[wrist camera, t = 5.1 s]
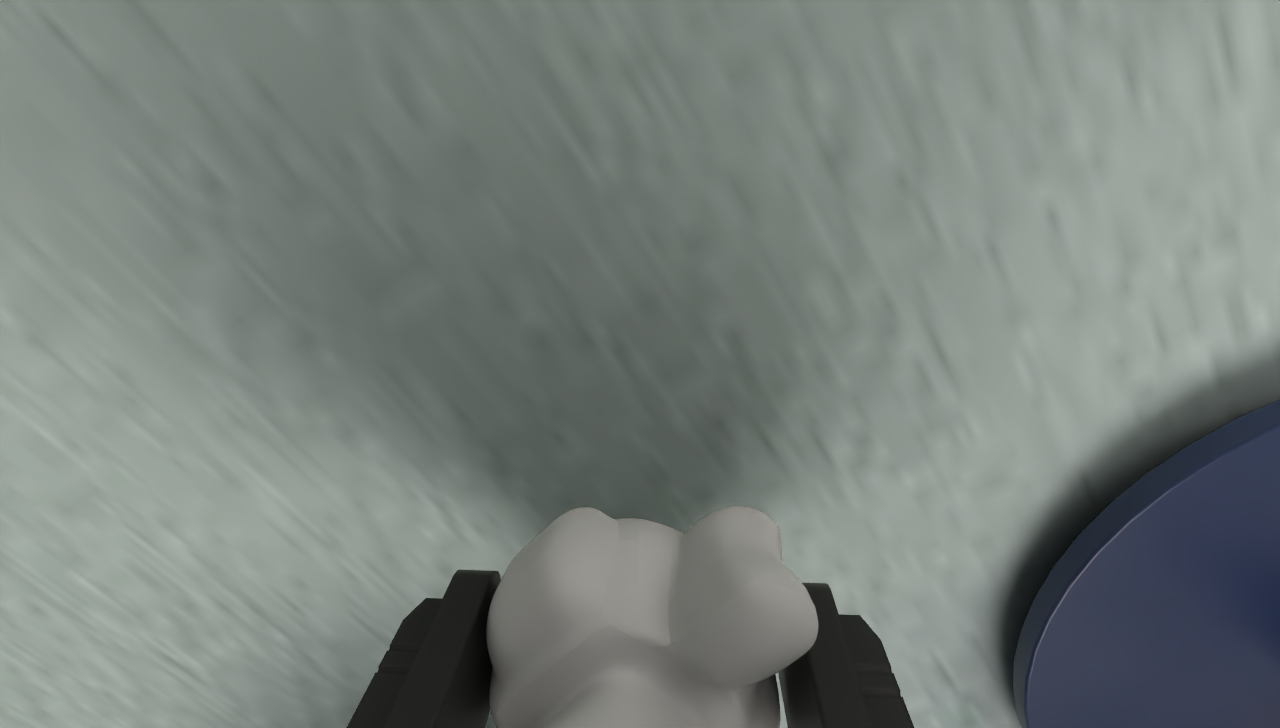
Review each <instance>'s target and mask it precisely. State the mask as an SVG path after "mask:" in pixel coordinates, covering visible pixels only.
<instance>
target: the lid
mask: <svg viewBox="0 0 1280 728" xmlns="http://www.w3.org/2000/svg"><path fill="white" fill-rule="evenodd" d="M1013 691H1014V698H1015V705H1016V712H1017V716H1018V719H1019V721H1020V724H1021V727H1022V728H1280V400H1277V401H1275V402H1273V403H1271V404H1268V405H1266V406H1264V407H1261V408H1259V409H1257V410H1255V411H1252V412H1250V413H1248V414H1246V415H1243V416H1241V417H1239V418H1237V419H1235V420H1233V421H1231V422H1229V423H1228V424H1226V425H1224V426H1222V427H1220V428H1218V429H1217V430H1215V431H1213V432H1211V433H1209V434H1208V435H1206V436H1204V437H1202V438H1200V439H1198V440H1197V441H1195V442H1193V443H1191V444H1189V445H1188V446H1186V447H1185V448H1183V449H1182V450H1180V451H1179V452H1177V453H1176V454H1174V455H1173V456H1172V457H1170V458H1169V459H1167V460H1166V461H1164V462H1163V463H1161V464H1160V465H1158V466H1157V467H1155V468H1154V469H1152V470H1151V471H1149V472H1148V473H1146V474H1145V475H1144V476H1143V477H1141V478H1140V479H1139V480H1138V481H1137V482H1135V483H1134V484H1133V485H1132V486H1130V487H1129V488H1128V489H1127V490H1126V491H1124V492H1123V493H1122V494H1121V495H1119V496H1118V497H1117V498H1116V499H1115V500H1113V501H1112V502H1111V503H1110V504H1109V505H1108V506H1107V507H1106V508H1105V509H1104V510H1103V511H1102V512H1101V513H1100V514H1099V515H1098V516H1097V517H1096V518H1095V519H1094V520H1093V521H1092V522H1091V523H1090V524H1089V525H1088V526H1087V527H1086V528H1085V529H1084V530H1083V531H1082V532H1081V533H1080V534H1079V535H1078V536H1077V537H1076V539H1075V540H1074V541H1073V542H1072V544H1071V545H1070V546H1069V548H1068V549H1067V550H1066V551H1065V553H1064V554H1063V555H1062V556H1061V558H1060V559H1059V560H1058V561H1057V563H1056V564H1055V565H1054V567H1053V568H1052V570H1051V571H1050V573H1049V575H1048V576H1047V578H1046V580H1045V581H1044V583H1043V585H1042V586H1041V588H1040V590H1039V591H1038V593H1037V595H1036V596H1035V598H1034V600H1033V603H1032V605H1031V607H1030V610H1029V612H1028V614H1027V617H1026V619H1025V622H1024V624H1023V626H1022V629H1021V633H1020V637H1019V641H1018V645H1017V649H1016V654H1015V658H1014V675H1013Z"/></svg>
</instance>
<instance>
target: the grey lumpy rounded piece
mask: <svg viewBox="0 0 1280 728" xmlns="http://www.w3.org/2000/svg"><path fill="white" fill-rule="evenodd" d="M817 634H818V617H817V613H816V608H815V606H814V604H813V602H812V600H811V598H810V595H809V593H808V591H807V589H806V588H805V586H804V585H803V584H802V583H801V581H800V580H799V579H798V578H797V577H796V576H795V574H794V573H793V572H792V571H791V570H790V569H789V568H788V567H787V566H785V565H784V564H783V561H782V551H781V535H780V529H779V526H778V525H777V523H776V522H775V521H774V520H773V519H771V518H770V517H769V516H767V515H766V514H764V513H762V512H760V511H758V510H756V509H753V508H751V507H743V506H731V507H725V508H721V509H718V510H716V511H714V512H711V513H709V514H708V515H706V516H705V517H703V518H701V519H700V520H698V521H697V522H696V523H694V524H693V525H692V526H691V527H690V528H689V529H688V530H687V531H686V533H685V534H683V533H681V532H679V531H677V530H675V529H673V528H671V527H668V526H665V525H663V524H659V523H656V522H652V521H648V520H644V519H637V518H624V519H613V518H611V517H609V516H607V515H606V514H604V513H603V512H601V511H599V510H597V509H594V508H591V507H579V508H575V509H572V510H570V511H568V512H566V513H564V514H562V515H561V516H559V517H558V518H557V519H555V520H554V521H553V522H552V523H551V524H549V525H548V526H547V527H546V528H545V529H544V530H543V531H542V532H541V533H540V534H539V535H537V536H536V537H535V538H534V539H533V540H532V541H531V542H530V543H529V544H528V545H526V546H525V547H524V548H523V549H522V550H521V551H520V552H519V553H518V554H517V556H516V557H515V558H514V559H513V560H512V562H511V563H510V565H509V567H508V568H507V570H506V572H505V574H504V576H503V577H502V579H501V581H500V583H499V586H498V587H497V589H496V591H495V594H494V596H493V599H492V602H491V605H490V609H489V613H488V619H487V628H486V640H487V647H488V652H489V656H490V660H491V663H492V666H493V669H492V675H491V684H490V698H489V701H490V709H491V714H492V717H493V719H494V722H495V724H496V726H497V728H779V727H780V704H779V694H778V687H777V682H776V676H775V674H776V673H778V672H779V671H781V670H782V669H784V668H785V667H787V666H788V665H790V664H791V663H793V662H794V661H796V660H797V659H798V658H800V657H801V656H802V655H804V654H805V653H806V652H807V651H808V650H809V649H810V648H811V647H812V646H813V644H814V642H815V640H816V638H817Z"/></svg>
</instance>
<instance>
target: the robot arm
mask: <svg viewBox="0 0 1280 728" xmlns="http://www.w3.org/2000/svg"><path fill="white" fill-rule="evenodd" d="M500 581H501V578H500V574H499V572H498V571H480V570H458V571H457V572H456V573H455V574H454V576H453V578H452V580H451V582H450V584H449V586H448V588H447V591H446V593H445V595H444V597H443V599H437V598H426V599H424V600H423V601H422V602H421V603H420V604H419V605H418V606H417V607H416V608H415V609H414V610H413V611H412V612H411V613H410V614H409V615H408V616H407V617H406V618H405V619H404V620H403V621H402V623H401V625H400V627H399V629H398V631H397V633H396V635H395V637H394V639H393V640H392V642H391V644H390V649H389V651H387V652H386V654H385V656H384V658H383V660H382V661H381V663H380V665H379V670H378V672H377V673H375V675H374V677H373V679H372V681H371V682H370V684H369V686H368V688H367V690H366V692H365V694H364V696H363V698H362V700H361V701H360V703H359V705H358V707H357V709H356V711H355V713H354V715H353V717H352V719H351V721H350V722H349V724H348V726H347V728H485V725H486V722H487V718H488V715H489V712H490V701H489V698H490V684H491V675H492V669H493V666H492V663H491V660H490V656H489V652H488V647H487V640H486V628H487V619H488V613H489V609H490V605H491V602H492V599H493V596H494V594H495V591H496V589H497V587H498V586H499V583H500ZM802 584H803V585H804V586H805V588H806V589H807V591H808V593H809V595H810V598H811V600H812V602H813V604H814V606H815V608H816V613H817V617H818V634H817V638H816V640H815V642H814V644H813V646H812V647H811V648H810V649H809V650H808V651H807V652H806V653H805V654H804V655H802V656H801V657H800V658H798V659H797V660H796V661H794V662H793V663H791V664H790V665H788V666H787V667H785V668H784V669H782V670H781V671H779V680H780V686H781V691H782V697H783V702H784V708H785V713H786V719H787V725H788V728H914V726H913V723H912V721H911V718H910V716H909V713H908V710H907V708H906V705H905V702H904V700H903V697H901V696H900V689H899V687H898V684H897V681H896V679H895V676H894V674H893V673H892V672H891V666H890V663H889V660H888V658H887V655H886V652H885V650H884V647H883V645H882V642H881V640H880V638H879V637H878V636H877V635H876V634H875V633H874V631H873V630H872V629H871V628H870V627H869V626H868V625H867V623H866V622H865V621H864V620H863V619H862V618H861V616H860V615H839V614H838V611H837V608H836V605H835V602H834V599H833V595H832V592H831V589H830V587H829V586H828V584H825V583H802Z"/></svg>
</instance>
